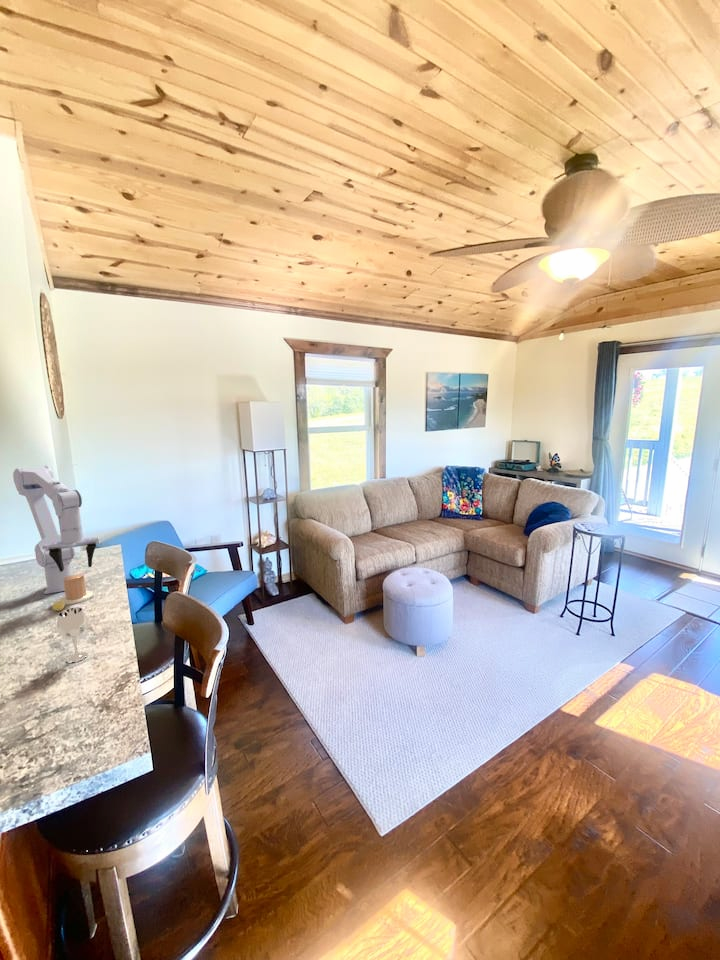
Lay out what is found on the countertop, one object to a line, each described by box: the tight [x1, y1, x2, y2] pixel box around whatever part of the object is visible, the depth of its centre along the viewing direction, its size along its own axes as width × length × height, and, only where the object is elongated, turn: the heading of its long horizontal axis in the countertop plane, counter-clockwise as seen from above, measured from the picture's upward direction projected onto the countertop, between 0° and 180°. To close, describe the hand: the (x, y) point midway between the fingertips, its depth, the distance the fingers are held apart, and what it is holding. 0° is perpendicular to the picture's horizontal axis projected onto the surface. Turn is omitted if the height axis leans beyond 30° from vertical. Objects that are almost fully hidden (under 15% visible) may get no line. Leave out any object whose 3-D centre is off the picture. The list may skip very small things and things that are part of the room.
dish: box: [59, 590, 94, 606], centre depth 131 cm, size 9×9×1 cm
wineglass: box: [56, 606, 89, 661], centre depth 96 cm, size 6×6×12 cm
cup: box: [63, 573, 87, 600], centre depth 130 cm, size 6×6×7 cm
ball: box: [52, 600, 66, 612], centre depth 123 cm, size 3×3×3 cm
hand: (76, 568), depth 130 cm, fingers open, 7 cm apart
